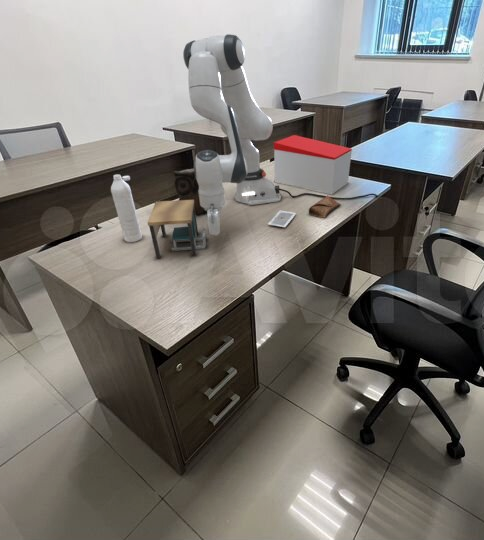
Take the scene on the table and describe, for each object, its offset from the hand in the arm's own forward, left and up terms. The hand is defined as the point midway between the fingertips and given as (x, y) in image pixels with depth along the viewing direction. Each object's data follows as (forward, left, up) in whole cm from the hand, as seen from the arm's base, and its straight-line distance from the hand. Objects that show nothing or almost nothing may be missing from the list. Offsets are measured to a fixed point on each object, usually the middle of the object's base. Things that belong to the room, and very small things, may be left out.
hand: (216, 234), depth 129 cm
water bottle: (+31, -7, -4) cm, 32 cm away
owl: (+9, -31, -4) cm, 33 cm away
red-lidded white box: (-51, -61, -4) cm, 80 cm away
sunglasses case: (-49, -24, -4) cm, 55 cm away
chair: (+11, 0, -4) cm, 11 cm away
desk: (+14, 0, -4) cm, 15 cm away
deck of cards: (-28, -15, -4) cm, 32 cm away
